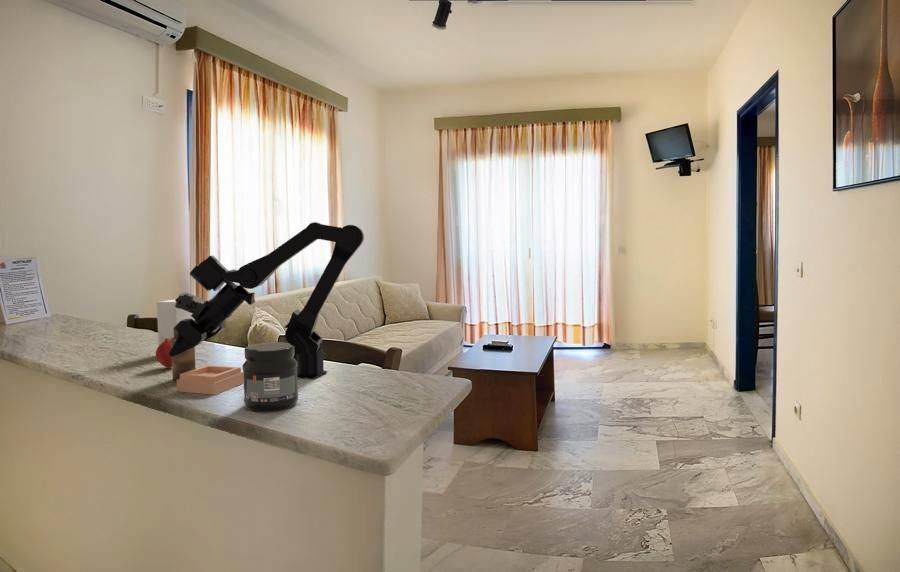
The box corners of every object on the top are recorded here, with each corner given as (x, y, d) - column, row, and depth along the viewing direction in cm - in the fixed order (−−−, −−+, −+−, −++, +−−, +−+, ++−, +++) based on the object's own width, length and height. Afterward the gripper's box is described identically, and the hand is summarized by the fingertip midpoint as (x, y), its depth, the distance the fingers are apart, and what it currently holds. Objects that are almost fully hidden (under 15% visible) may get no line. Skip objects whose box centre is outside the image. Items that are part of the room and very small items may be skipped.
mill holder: (244, 382, 130) (244, 367, 129) (215, 394, 120) (214, 377, 120) (208, 379, 132) (207, 364, 132) (177, 391, 123) (176, 374, 123)
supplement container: (275, 394, 120) (273, 339, 119) (309, 402, 114) (308, 345, 113) (232, 407, 111) (230, 348, 110) (267, 417, 105) (265, 354, 104)
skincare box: (177, 357, 157) (175, 302, 155) (157, 356, 158) (154, 301, 157) (196, 351, 165) (194, 298, 164) (177, 350, 166) (174, 298, 165)
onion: (156, 366, 145) (154, 336, 145) (181, 364, 148) (179, 334, 147) (156, 371, 140) (154, 340, 140) (181, 369, 143) (180, 338, 142)
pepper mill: (200, 377, 135) (198, 325, 134) (185, 382, 130) (182, 329, 129) (183, 375, 136) (180, 324, 135) (168, 380, 131) (165, 328, 130)
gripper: (210, 278, 141) (166, 322, 141) (182, 284, 122) (132, 335, 122) (243, 308, 142) (200, 352, 142) (221, 319, 124) (171, 370, 124)
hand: (177, 351), depth 132 cm, fingers open, 8 cm apart
